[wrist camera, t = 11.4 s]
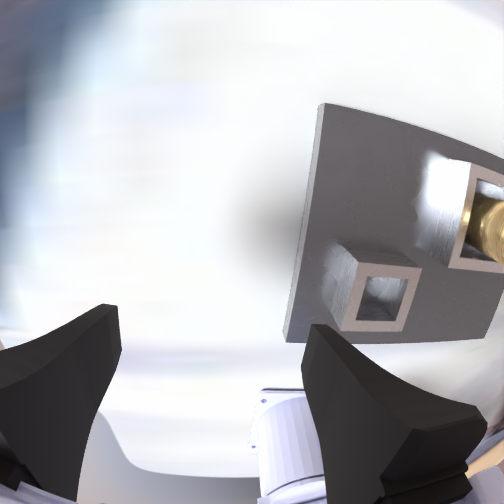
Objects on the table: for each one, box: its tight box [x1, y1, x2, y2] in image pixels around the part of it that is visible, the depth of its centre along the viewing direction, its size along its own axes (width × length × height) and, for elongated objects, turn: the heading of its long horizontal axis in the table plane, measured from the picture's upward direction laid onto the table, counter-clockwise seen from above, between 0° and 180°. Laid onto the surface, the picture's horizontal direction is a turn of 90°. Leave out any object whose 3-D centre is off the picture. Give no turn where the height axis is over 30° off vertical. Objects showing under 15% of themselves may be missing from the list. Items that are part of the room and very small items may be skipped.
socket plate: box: [283, 103, 504, 344], centre depth 20 cm, size 16×20×4 cm
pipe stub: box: [464, 192, 504, 265], centre depth 17 cm, size 4×4×6 cm
